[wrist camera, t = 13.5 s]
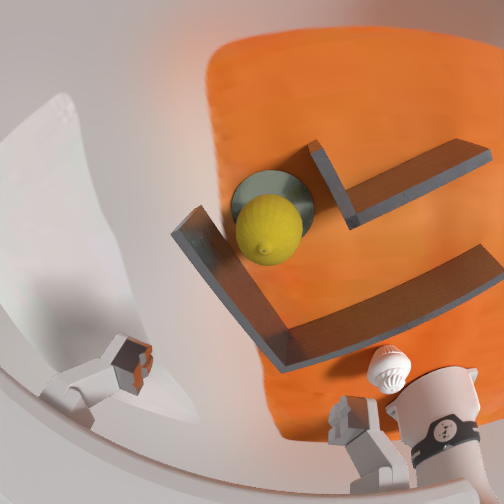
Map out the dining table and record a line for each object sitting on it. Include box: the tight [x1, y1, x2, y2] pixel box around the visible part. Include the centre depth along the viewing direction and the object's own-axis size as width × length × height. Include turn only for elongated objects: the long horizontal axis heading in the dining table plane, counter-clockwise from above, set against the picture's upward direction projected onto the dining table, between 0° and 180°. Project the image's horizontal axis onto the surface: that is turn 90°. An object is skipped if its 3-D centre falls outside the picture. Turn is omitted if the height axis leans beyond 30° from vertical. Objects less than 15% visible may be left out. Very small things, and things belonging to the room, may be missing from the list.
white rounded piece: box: [367, 344, 411, 394], centre depth 31 cm, size 6×6×7 cm
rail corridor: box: [171, 138, 504, 374], centre depth 24 cm, size 20×28×6 cm
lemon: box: [236, 194, 303, 266], centre depth 23 cm, size 6×6×8 cm
